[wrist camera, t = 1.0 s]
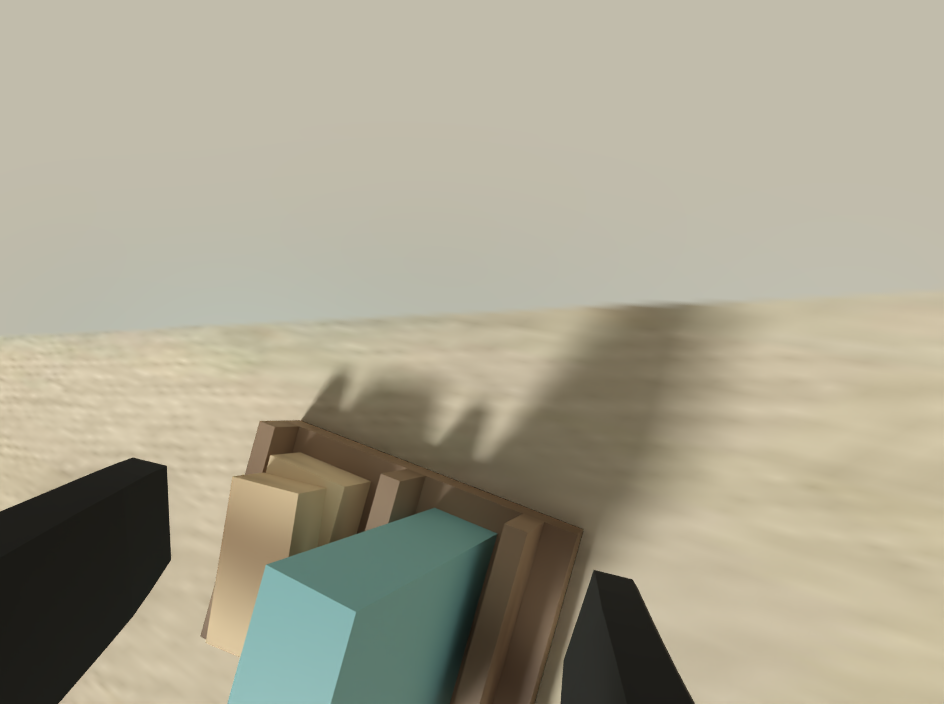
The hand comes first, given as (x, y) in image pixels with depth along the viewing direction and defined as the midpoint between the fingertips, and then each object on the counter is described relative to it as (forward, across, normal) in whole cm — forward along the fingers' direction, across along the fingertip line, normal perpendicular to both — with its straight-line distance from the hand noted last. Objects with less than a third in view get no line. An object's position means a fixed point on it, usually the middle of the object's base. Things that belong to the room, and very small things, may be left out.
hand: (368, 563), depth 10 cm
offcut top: (+9, +5, +10) cm, 14 cm away
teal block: (+9, -1, +10) cm, 13 cm away
